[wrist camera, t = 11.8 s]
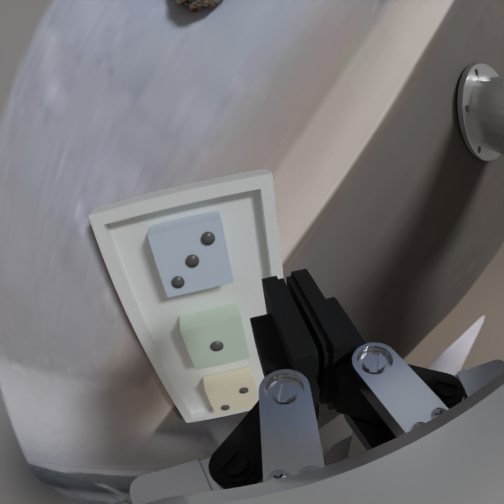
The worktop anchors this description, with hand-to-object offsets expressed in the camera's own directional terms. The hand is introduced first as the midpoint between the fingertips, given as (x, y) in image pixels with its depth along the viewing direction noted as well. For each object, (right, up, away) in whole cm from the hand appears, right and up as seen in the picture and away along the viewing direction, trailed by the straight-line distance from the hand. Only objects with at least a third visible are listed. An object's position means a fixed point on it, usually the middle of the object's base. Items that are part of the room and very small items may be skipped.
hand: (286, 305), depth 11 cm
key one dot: (-5, -6, +17) cm, 18 cm away
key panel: (-5, -5, +18) cm, 19 cm away
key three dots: (-6, +2, +12) cm, 14 cm away
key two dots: (-4, -13, +21) cm, 25 cm away
